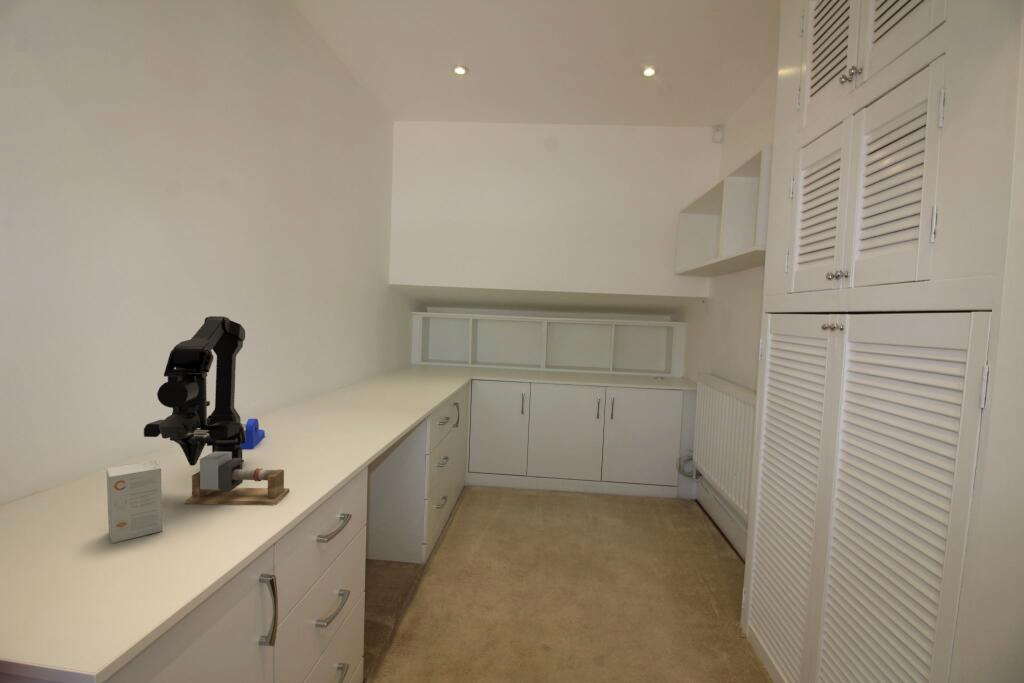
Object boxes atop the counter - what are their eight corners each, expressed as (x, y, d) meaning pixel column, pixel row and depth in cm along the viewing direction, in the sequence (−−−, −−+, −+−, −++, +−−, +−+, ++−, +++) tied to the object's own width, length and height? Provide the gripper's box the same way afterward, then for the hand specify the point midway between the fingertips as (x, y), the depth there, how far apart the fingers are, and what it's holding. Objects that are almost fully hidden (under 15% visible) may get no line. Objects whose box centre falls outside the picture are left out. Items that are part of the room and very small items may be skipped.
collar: (220, 491, 112) (220, 466, 112) (234, 482, 118) (233, 457, 118) (229, 491, 112) (229, 466, 112) (242, 482, 118) (242, 458, 118)
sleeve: (200, 489, 112) (199, 459, 111) (214, 480, 118) (214, 451, 117) (218, 489, 112) (217, 459, 111) (231, 480, 118) (231, 451, 117)
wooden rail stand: (185, 503, 111) (184, 473, 110) (205, 490, 119) (205, 462, 118) (275, 504, 112) (274, 474, 111) (289, 491, 120) (289, 463, 119)
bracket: (252, 449, 153) (252, 421, 153) (223, 450, 151) (223, 421, 151) (267, 434, 171) (267, 409, 170) (241, 435, 169) (241, 409, 168)
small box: (158, 521, 102) (156, 459, 101) (163, 531, 97) (161, 467, 96) (107, 532, 96) (105, 467, 95) (110, 544, 92) (108, 476, 91)
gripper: (124, 405, 105) (126, 476, 106) (213, 406, 106) (214, 477, 107) (159, 395, 116) (161, 460, 117) (240, 397, 117) (240, 461, 118)
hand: (193, 465), depth 114 cm, fingers closed
